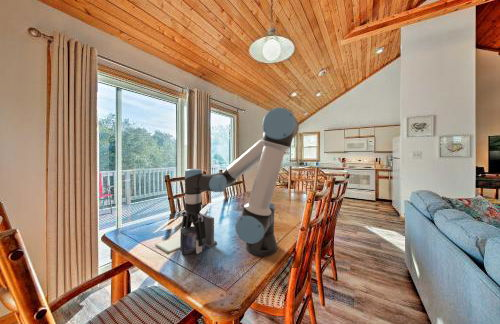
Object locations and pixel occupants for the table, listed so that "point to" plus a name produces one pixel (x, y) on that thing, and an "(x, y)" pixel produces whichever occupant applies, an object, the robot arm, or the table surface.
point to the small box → (189, 240)
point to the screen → (209, 231)
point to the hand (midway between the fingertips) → (193, 249)
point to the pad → (169, 245)
